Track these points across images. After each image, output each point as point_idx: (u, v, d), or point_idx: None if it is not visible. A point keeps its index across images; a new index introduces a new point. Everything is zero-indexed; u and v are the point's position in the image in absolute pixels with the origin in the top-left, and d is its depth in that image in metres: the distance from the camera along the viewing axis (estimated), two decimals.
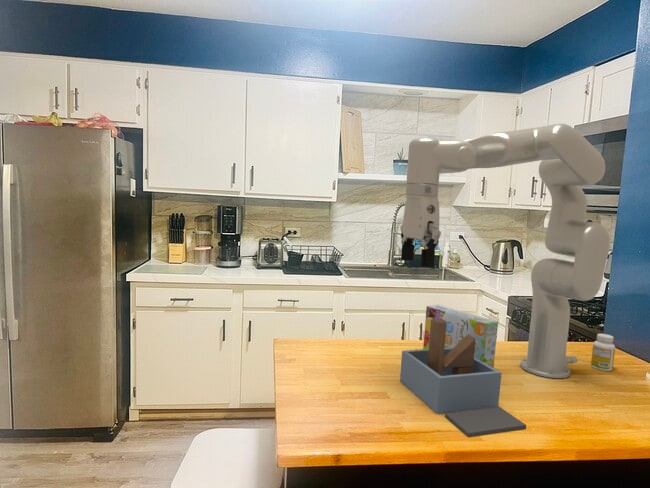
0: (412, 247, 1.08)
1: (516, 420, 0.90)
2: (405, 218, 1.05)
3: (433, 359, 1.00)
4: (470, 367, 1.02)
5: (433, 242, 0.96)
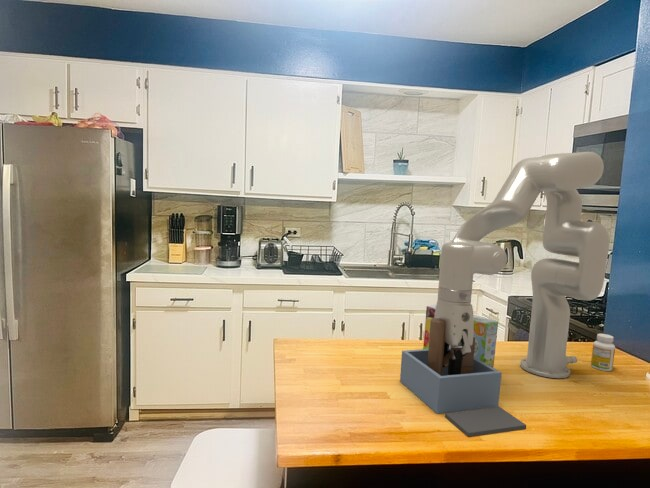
0: None
1: (516, 420, 0.90)
2: None
3: (433, 358, 1.01)
4: (470, 367, 1.02)
5: (461, 355, 0.97)
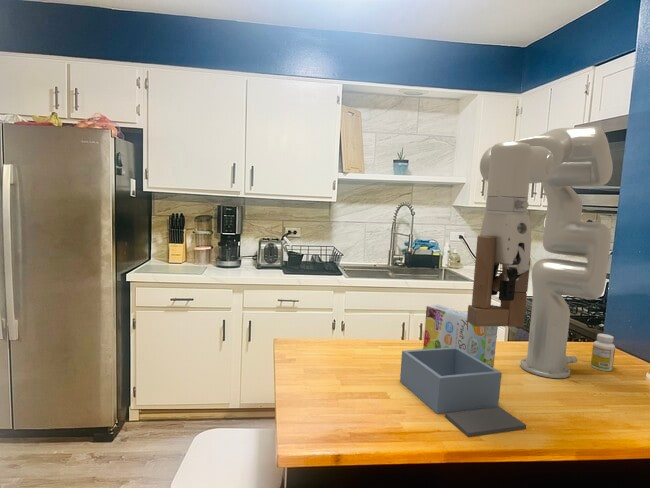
0: None
1: (516, 420, 0.90)
2: None
3: (481, 281, 0.85)
4: (524, 292, 0.86)
5: (516, 274, 0.82)
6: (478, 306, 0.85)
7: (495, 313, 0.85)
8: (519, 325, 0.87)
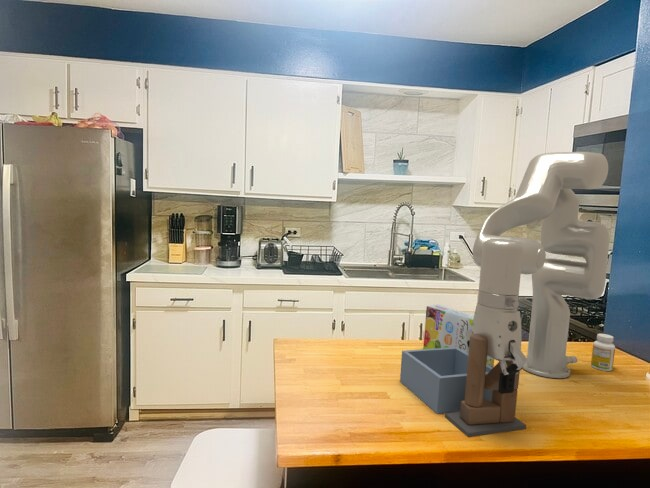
0: None
1: (516, 420, 0.90)
2: (476, 328, 0.90)
3: (473, 381, 0.87)
4: (515, 389, 0.88)
5: (516, 369, 0.81)
6: (471, 405, 0.87)
7: (487, 411, 0.87)
8: (510, 421, 0.89)
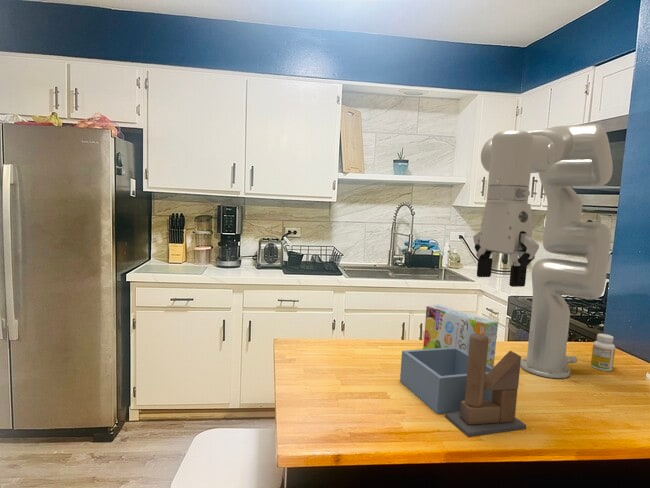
0: (490, 261, 0.91)
1: (516, 420, 0.90)
2: (484, 227, 0.88)
3: (473, 381, 0.87)
4: (515, 389, 0.88)
5: (528, 257, 0.79)
6: (471, 405, 0.87)
7: (487, 411, 0.87)
8: (510, 421, 0.89)
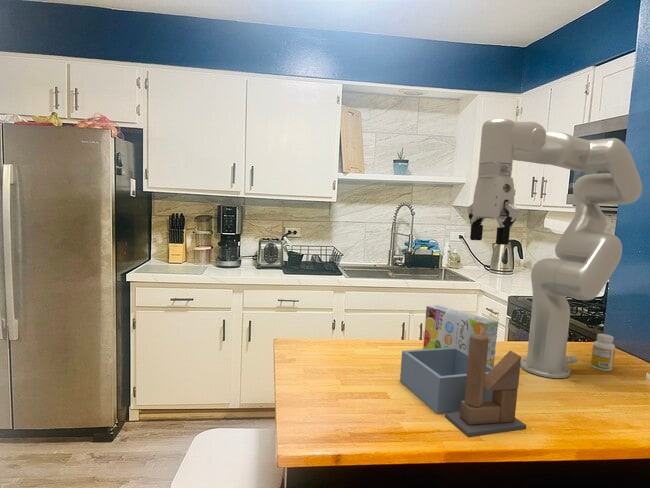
0: (481, 227, 1.11)
1: (516, 420, 0.90)
2: (476, 198, 1.07)
3: (473, 381, 0.87)
4: (515, 389, 0.88)
5: (511, 220, 0.99)
6: (471, 405, 0.87)
7: (487, 411, 0.87)
8: (510, 421, 0.89)
